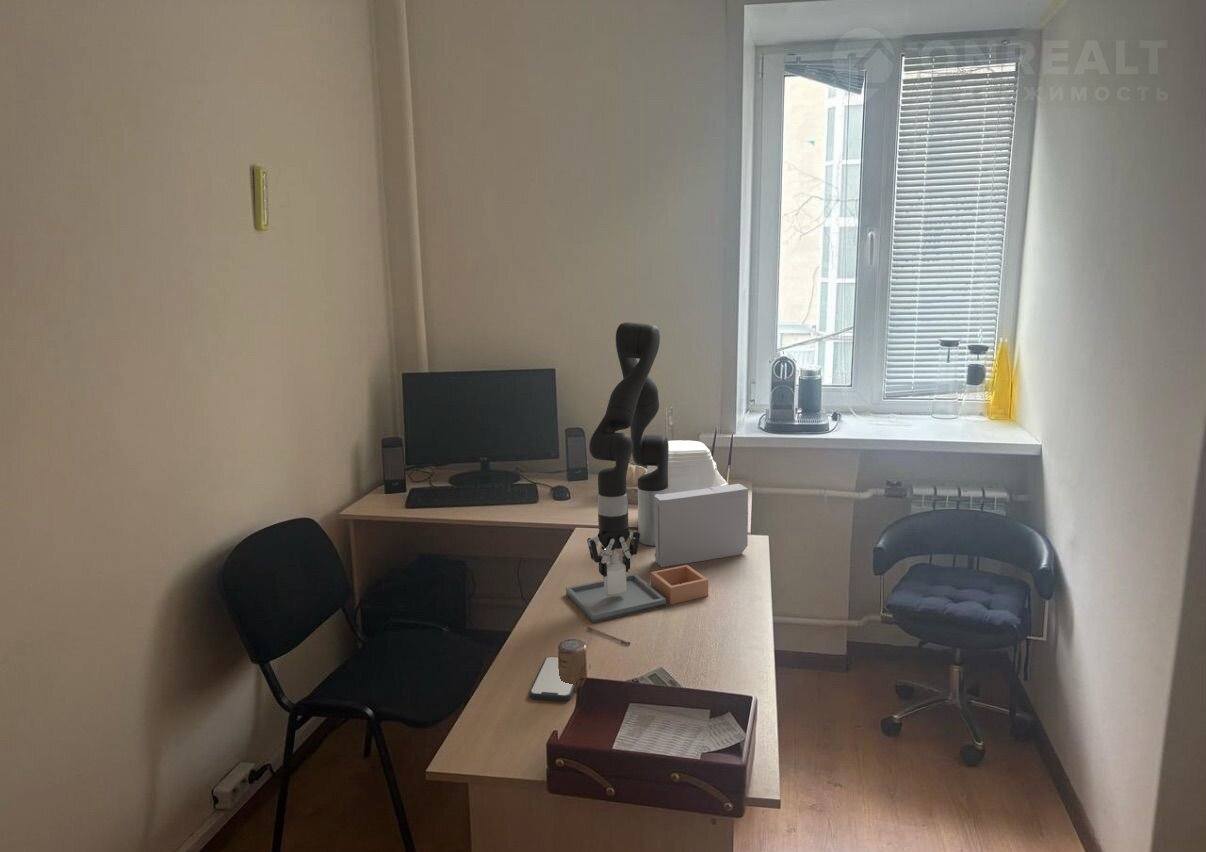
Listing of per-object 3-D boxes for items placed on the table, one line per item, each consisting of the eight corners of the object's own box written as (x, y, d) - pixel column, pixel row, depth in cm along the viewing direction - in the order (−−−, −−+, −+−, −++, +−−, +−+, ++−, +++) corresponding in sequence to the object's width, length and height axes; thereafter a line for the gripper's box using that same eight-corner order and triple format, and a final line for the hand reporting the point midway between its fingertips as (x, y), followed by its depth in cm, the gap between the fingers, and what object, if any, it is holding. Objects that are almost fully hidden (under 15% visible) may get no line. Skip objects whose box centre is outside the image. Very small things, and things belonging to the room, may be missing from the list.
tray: (566, 594, 208) (566, 587, 208) (635, 580, 216) (634, 573, 215) (593, 623, 192) (592, 615, 191) (666, 606, 200) (666, 599, 199)
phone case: (545, 662, 176) (527, 701, 160) (545, 655, 176) (527, 693, 160) (585, 664, 175) (570, 704, 159) (585, 657, 174) (570, 696, 159)
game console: (653, 560, 229) (652, 494, 225) (738, 547, 237) (738, 483, 233) (660, 567, 224) (659, 500, 219) (747, 554, 232) (748, 488, 227)
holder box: (650, 588, 210) (650, 572, 209) (687, 580, 215) (687, 564, 214) (670, 604, 201) (670, 587, 200) (708, 595, 205) (708, 579, 204)
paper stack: (648, 511, 271) (646, 438, 266) (727, 510, 269) (728, 437, 263) (646, 533, 251) (645, 454, 245) (733, 532, 249) (733, 453, 243)
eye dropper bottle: (625, 597, 201) (624, 552, 198) (603, 596, 202) (602, 552, 199) (627, 589, 205) (626, 546, 202) (605, 589, 206) (604, 545, 203)
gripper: (632, 501, 205) (633, 563, 208) (580, 510, 199) (583, 573, 203) (645, 510, 198) (646, 573, 202) (592, 519, 192) (594, 584, 196)
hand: (614, 573), depth 202 cm, fingers closed on eye dropper bottle, 5 cm apart
